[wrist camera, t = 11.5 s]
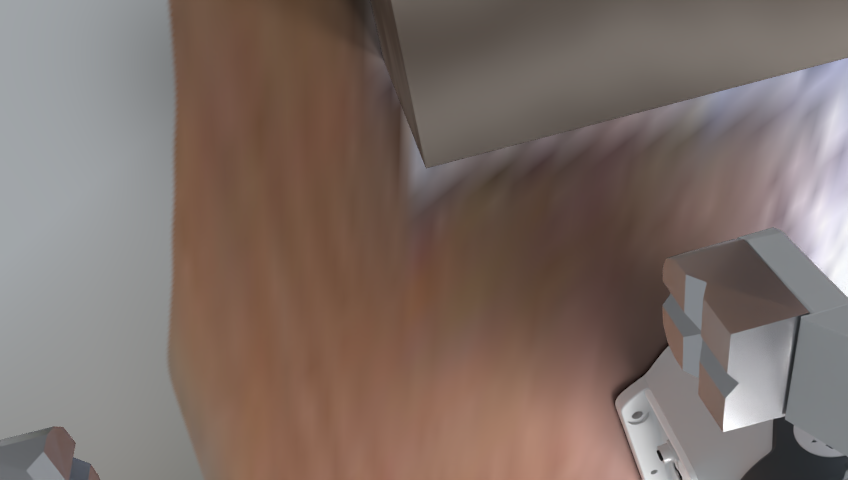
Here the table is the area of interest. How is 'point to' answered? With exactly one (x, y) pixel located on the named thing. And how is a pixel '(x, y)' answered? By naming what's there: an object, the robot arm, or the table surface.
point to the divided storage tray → (583, 60)
